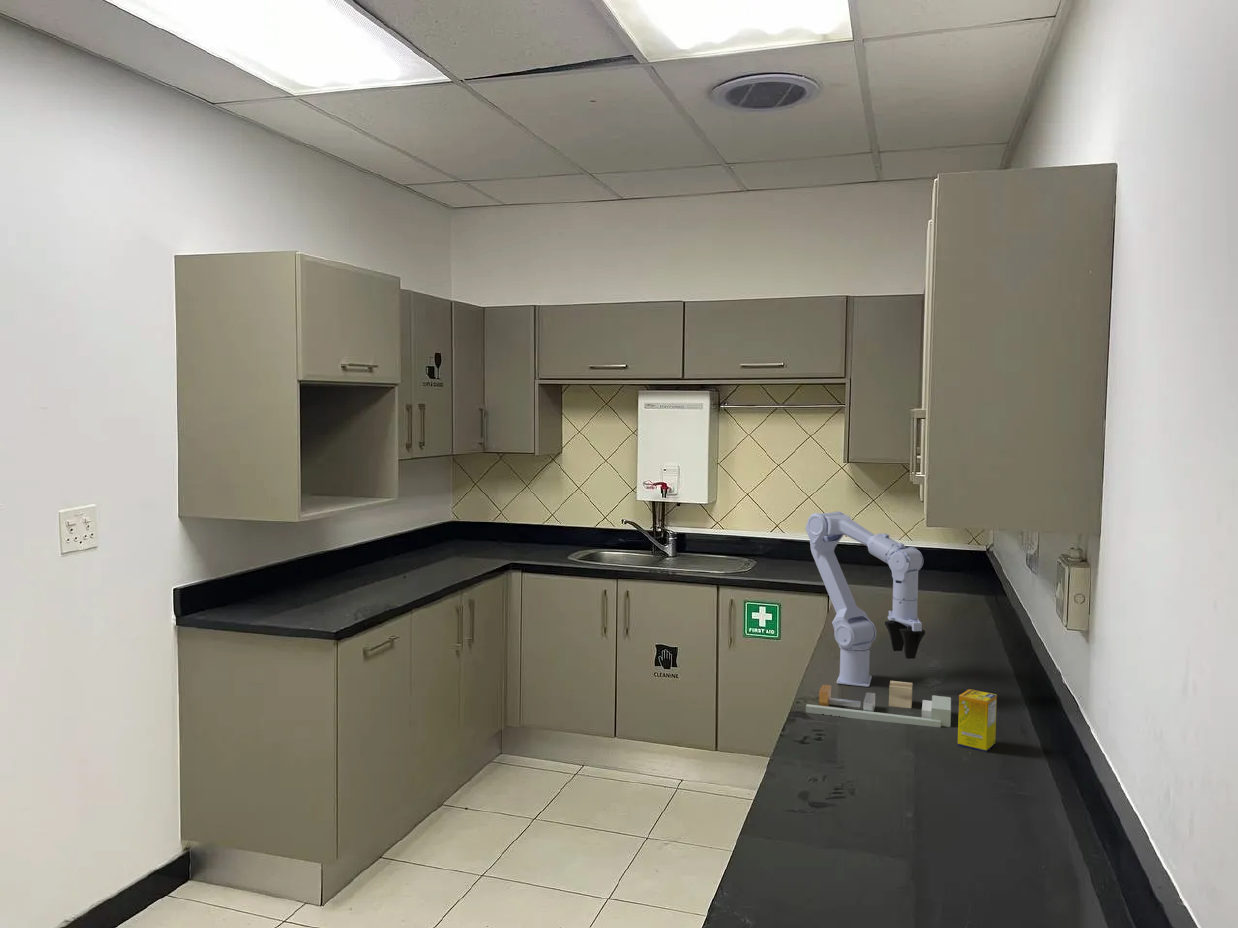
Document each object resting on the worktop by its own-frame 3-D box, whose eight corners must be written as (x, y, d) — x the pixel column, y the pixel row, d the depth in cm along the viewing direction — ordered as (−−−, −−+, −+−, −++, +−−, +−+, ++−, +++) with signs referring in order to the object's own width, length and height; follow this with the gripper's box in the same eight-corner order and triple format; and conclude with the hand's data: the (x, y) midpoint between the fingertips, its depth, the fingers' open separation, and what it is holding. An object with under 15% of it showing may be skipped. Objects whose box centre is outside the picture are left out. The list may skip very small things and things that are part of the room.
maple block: (889, 701, 220) (890, 680, 219) (911, 703, 218) (912, 682, 218) (888, 707, 215) (889, 686, 215) (911, 709, 213) (911, 688, 213)
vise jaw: (822, 699, 219) (823, 683, 218) (874, 705, 215) (875, 688, 214) (818, 709, 211) (818, 692, 211) (872, 716, 207) (872, 698, 207)
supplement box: (966, 739, 194) (968, 688, 193) (995, 746, 190) (997, 694, 189) (956, 747, 189) (958, 694, 188) (986, 754, 185) (988, 700, 185)
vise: (812, 698, 220) (812, 682, 220) (950, 714, 210) (950, 697, 210) (805, 712, 210) (806, 695, 210) (950, 729, 200) (950, 711, 199)
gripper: (877, 593, 228) (876, 647, 229) (901, 604, 214) (900, 662, 215) (904, 592, 229) (903, 646, 230) (930, 604, 215) (929, 661, 215)
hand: (903, 654), depth 222 cm, fingers open, 7 cm apart
